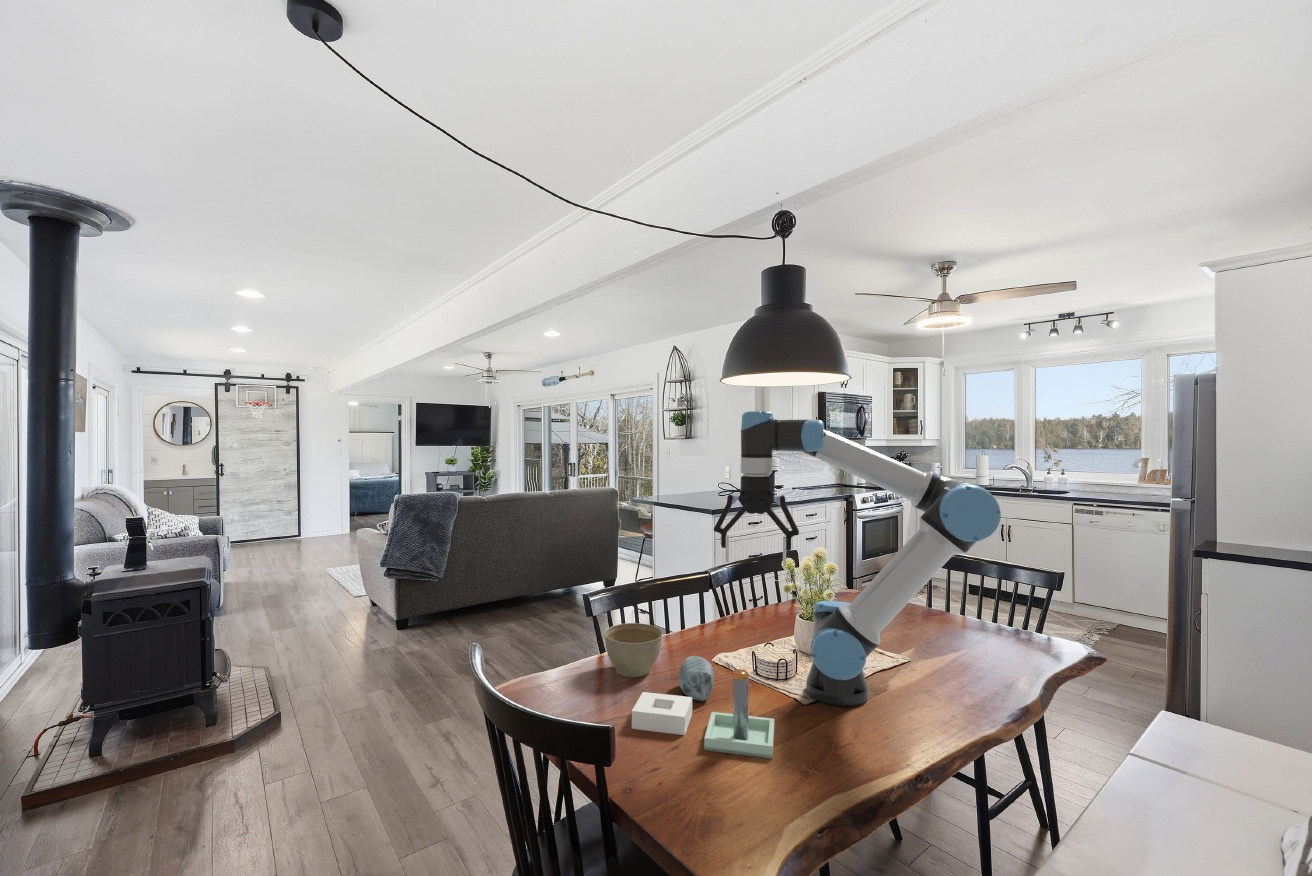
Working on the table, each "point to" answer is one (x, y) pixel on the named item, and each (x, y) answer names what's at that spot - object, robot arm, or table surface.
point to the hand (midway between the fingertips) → (755, 562)
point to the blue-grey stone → (696, 678)
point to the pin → (740, 704)
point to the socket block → (662, 713)
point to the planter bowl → (633, 647)
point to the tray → (756, 745)
